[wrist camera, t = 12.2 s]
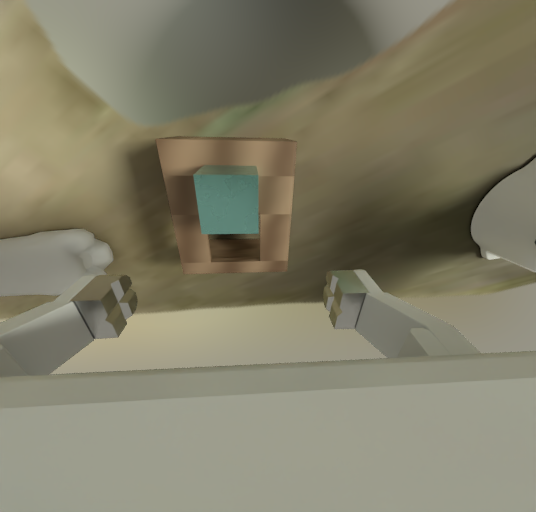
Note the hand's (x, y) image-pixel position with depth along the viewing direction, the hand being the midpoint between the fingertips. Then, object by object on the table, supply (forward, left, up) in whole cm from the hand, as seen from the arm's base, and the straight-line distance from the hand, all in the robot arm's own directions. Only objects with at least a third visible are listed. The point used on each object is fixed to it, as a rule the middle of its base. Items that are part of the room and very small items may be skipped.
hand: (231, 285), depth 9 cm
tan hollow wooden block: (+1, +3, -26) cm, 26 cm away
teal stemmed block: (+1, 0, -24) cm, 24 cm away
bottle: (+36, +12, -26) cm, 46 cm away
